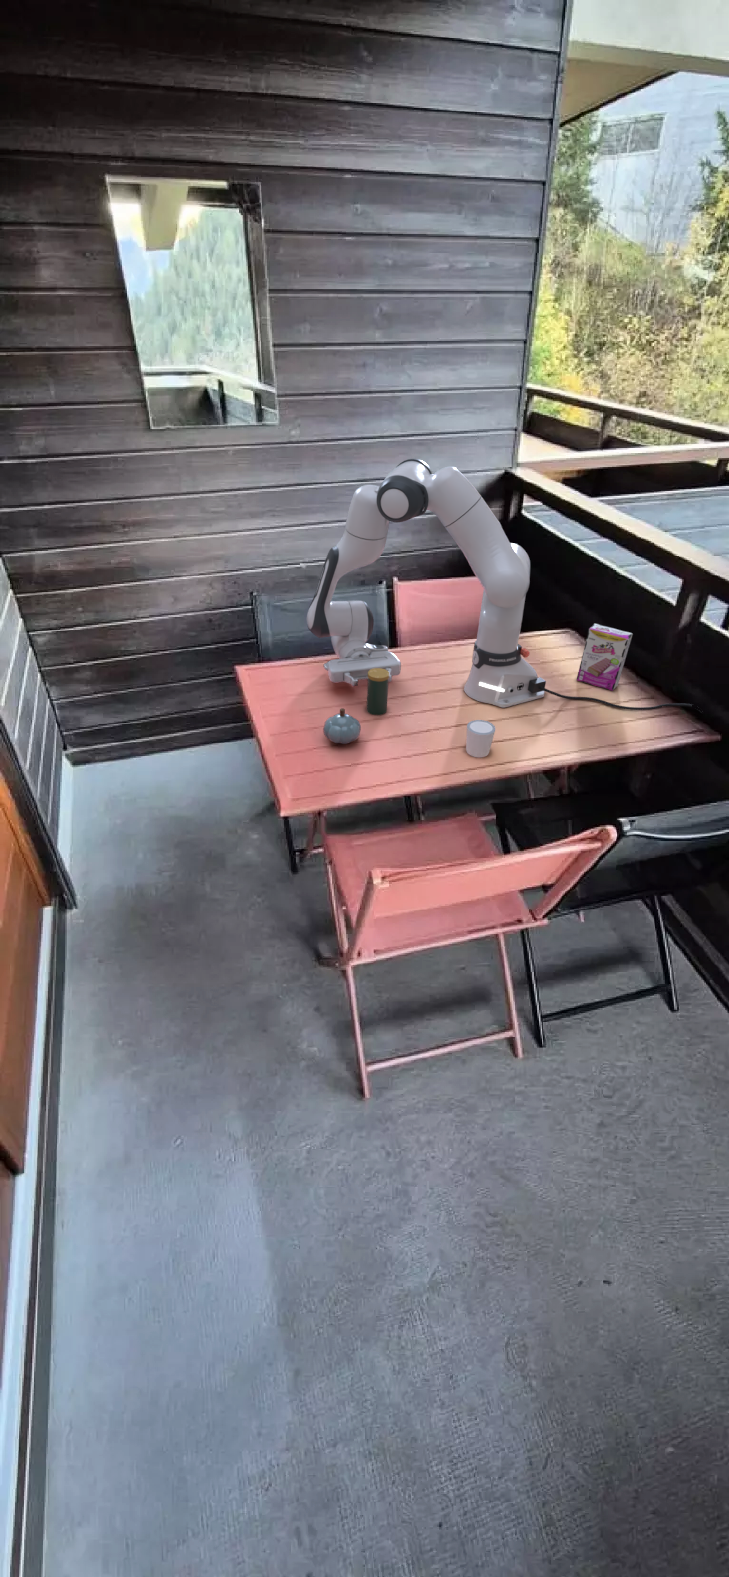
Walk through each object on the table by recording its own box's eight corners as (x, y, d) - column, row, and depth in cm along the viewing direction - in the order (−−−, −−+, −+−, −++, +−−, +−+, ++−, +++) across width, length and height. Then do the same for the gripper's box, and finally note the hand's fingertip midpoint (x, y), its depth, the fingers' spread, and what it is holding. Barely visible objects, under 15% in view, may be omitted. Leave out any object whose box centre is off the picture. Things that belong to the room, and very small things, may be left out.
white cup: (490, 760, 169) (494, 736, 165) (462, 756, 170) (465, 732, 166) (492, 745, 174) (496, 721, 170) (464, 741, 175) (468, 717, 171)
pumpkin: (354, 728, 179) (355, 697, 174) (365, 747, 172) (366, 716, 166) (319, 732, 176) (318, 702, 171) (328, 753, 169) (328, 721, 164)
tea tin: (383, 703, 189) (385, 666, 183) (390, 714, 185) (392, 676, 179) (363, 706, 188) (364, 669, 181) (369, 716, 184) (371, 679, 177)
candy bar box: (575, 681, 203) (588, 628, 194) (581, 674, 207) (593, 622, 197) (613, 692, 199) (628, 638, 189) (618, 685, 202) (633, 632, 192)
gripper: (321, 652, 193) (334, 675, 182) (391, 645, 198) (408, 666, 187) (321, 673, 196) (334, 696, 186) (390, 665, 202) (406, 687, 191)
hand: (372, 681), depth 187 cm, fingers open, 8 cm apart
